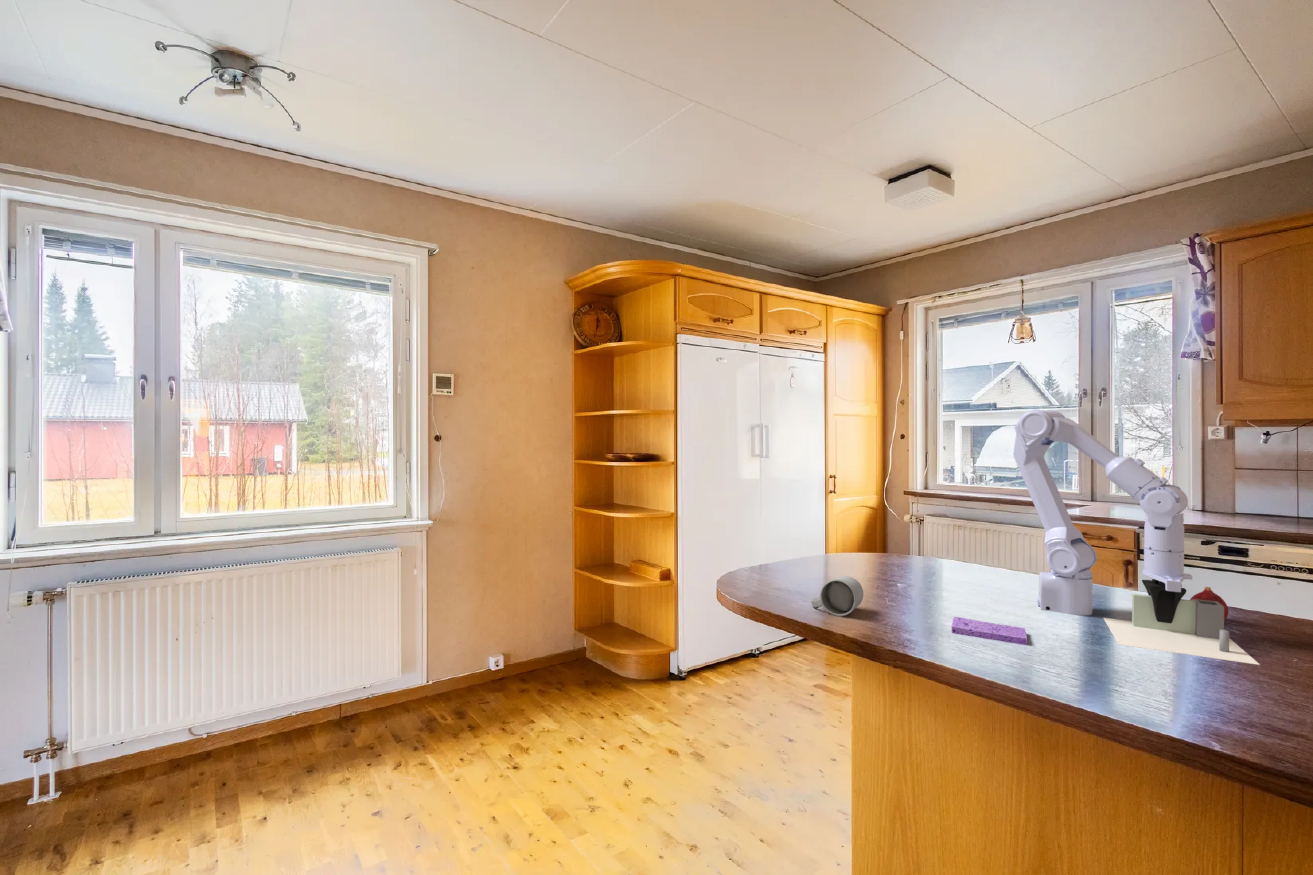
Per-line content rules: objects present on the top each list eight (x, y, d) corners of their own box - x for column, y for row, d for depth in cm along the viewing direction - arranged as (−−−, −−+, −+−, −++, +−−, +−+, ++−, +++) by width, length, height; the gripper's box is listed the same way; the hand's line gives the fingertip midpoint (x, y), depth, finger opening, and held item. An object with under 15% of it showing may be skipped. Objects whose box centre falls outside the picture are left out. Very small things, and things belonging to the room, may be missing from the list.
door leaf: (1134, 628, 112) (1135, 596, 111) (1130, 622, 115) (1131, 592, 115) (1223, 639, 105) (1224, 606, 105) (1217, 633, 108) (1217, 601, 108)
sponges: (953, 625, 119) (953, 616, 119) (1026, 636, 113) (1026, 626, 113) (950, 635, 113) (950, 625, 113) (1027, 648, 107) (1027, 637, 107)
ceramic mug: (865, 609, 128) (865, 574, 128) (855, 619, 121) (855, 582, 121) (817, 602, 134) (817, 568, 134) (805, 611, 127) (805, 576, 127)
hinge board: (1119, 652, 103) (1119, 624, 103) (1102, 624, 118) (1103, 600, 118) (1260, 673, 94) (1260, 642, 94) (1223, 640, 109) (1223, 614, 109)
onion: (1236, 632, 113) (1236, 591, 113) (1201, 630, 114) (1201, 590, 114) (1214, 623, 119) (1214, 584, 119) (1181, 621, 120) (1181, 582, 120)
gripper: (1204, 558, 102) (1203, 636, 103) (1180, 544, 115) (1179, 613, 115) (1152, 554, 106) (1151, 629, 106) (1135, 541, 118) (1134, 608, 119)
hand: (1163, 620), depth 111 cm, fingers closed on door leaf
